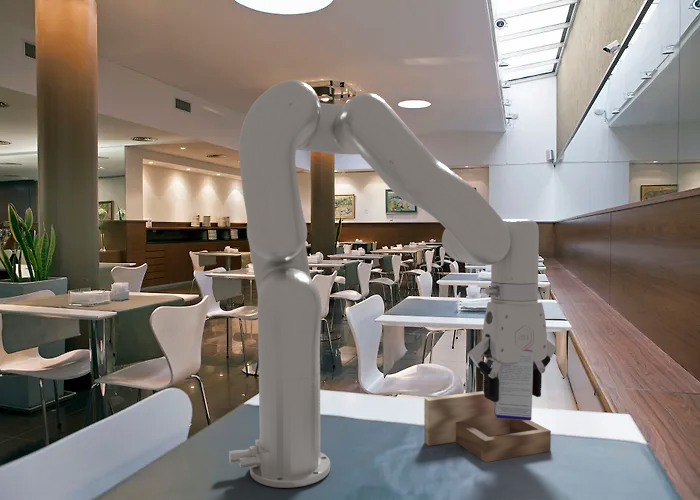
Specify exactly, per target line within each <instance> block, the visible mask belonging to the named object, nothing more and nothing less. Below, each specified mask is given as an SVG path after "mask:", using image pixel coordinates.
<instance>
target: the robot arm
mask: <svg viewBox="0 0 700 500" xmlns="http://www.w3.org/2000/svg"><path fill="white" fill-rule="evenodd" d="M238 142H239V143H238V162H239V171H240V179H241V185H242V195H243V200H244V208H245V213H246V214H245V215H246V237H247V241H248V245H249V252H250V257H251V264H252V269H253V274H254V279H255V286H256V291H257V326H258V327H257V329H258V330H257V333H258V335H257V336H258V345H257V346H258V396H259V397H258V402H259V403H258V404H259V405H258V408H259V411H258V415H259V439H255V441H254V443H255V445H250V446H249V448H247V449H234V450H229V451H228V458H229V460H228V461H229V462H228V463H229V465H233V464H238V465H239V468H240V469H242V468H248V467H249V475H250V476H251V479H252V480H254V481H255V482H257V483H259V484H261V485H264V486H268V487H272V488H280V489H281V488H285V489H286V488H288V489H289V488H298V487H300V488H301V487H305V486H309V485H312V484H315V483H318V482H319V481H321V480H323V479H324V478H326V477H327V476H328V475H329V473H330V470H331V459H330V458H329V456H327V454H325V453H323V452H321V356H320V355H321V352H320V351H321V330H322V327H321V326H322V312H323V311H322V309H323V308H322V298H321V294H320V291H319V288H318V287H317V285H316V283H315V282H314V280H313V279H312V277H311V272H310V265H309V264H310V263H309V258H308V257H309V256H308V253H307V251H308V250H307V247H306V246H307V245H306V243H307V242H306V241H307V238H308V228H307V223H306V219H305V217H304V216H305V215H304V211H303V206H302V200H301V196H300V190H299V189H300V188H299V183H298V173H297V165H296V153H297V151H305V152H313V153H314V152H315V153H316V152H318V153H323V154H325V153H326V154H336V155H359V156H360V157H361V158H363V160H364V161H365V162H366V163H367V164H368V165H369V167H370V168H371V169H373V171H374V172H375V173H376V174H377V175H378V177H380V179H381V180H382V181H383V182H384V184H386V185H387V186H388V187H387V188H389V189H390V191H392V192H393V193H394V195H396V196H398V198H400V199H402V200H404V202H406V203H409V204H411V205H413V206H415V207H418V208H419V209H420V210H423V211H425V212H426V213H428V214H429V215H431V216H432V217H433V218H434V219H435V220H436V221H437V222H438V223H440V225H442V226H443V227H444V228H445V229H444V230H443V232H442V237H441V245H442V247H443V250H444V251H445V253H446V254H447V256H449V257H450V258H451V259H453V260H454V261H457V262H460V263H466V264H475V265H480V266H491V267H490V268H491V269H490V272H491V273H490V286H487V287H486V288H485V290H484V291H485V294H486V296H490V300H488V301H487V303H486V308H485V314H484V319H483V327H482V328H483V329H482V339H481V341H480V342H478V343H477V344H476V345H475V346H474V347H473V348H472V349H471V350H470V351H468V357H470V359H471V361H472V362H473V364H474V366H475V367H476V368H477V369H478V371H480V374H482V375H483V391H484V395H485V398H487V399H489V400H491V401H493V402H498V401H499V379H498V378H497V377H496V374H497V373H498V371H499V369H500V367H501V364H515V363H518V362H520V354H521V351H529V350H532V351H533V384H532V396H534V397H537V398H540V397H542V383H543V382H542V377H543V376H542V374H545V372H546V367H547V366H548V365H549V363H550V362H551V358H552V357H553V355H554V353H555V352H556V350H557V347H556V346H555V345H554V344H553V343H552V342H550V341H549V340H548V335H547V322H546V315H545V314H546V313H545V310H544V309H545V308H544V306H543V302H542V301H541V300H538V299H539V251H540V250H539V245H540V244H539V243H540V240H539V239H540V232H539V224H538V223H537V222H536V221H535V220H533V219H525V218H521V219H520V218H516V219H515V218H509V219H506V218H504V219H503V218H501V216H500V215H499V214H498V213H497V211H496V210H495V209H494V208H493V207H492V206H491V205H490V203H489V202H488V201H487V199H485V198H484V196H483V195H481V193H480V192H478V190H476V189H475V188H474V187H473V186H472V184H471V185H470V183H468V182H467V181H466V180H464V178H462V177H460V175H458V174H456V172H454V171H453V170H451V169H450V168H449V167H448V166H446V165H445V164H443V163H442V162H440V160H438V159H437V158H436V157H435V156H434V155H433V154H432V153H431V152H430V151H429V150H428V149H427V147H426V146H425V144H423V143H422V141H421V140H420V139H419V138H418V137H417V136H416V134H415V133H414V132H413V131H412V130H411V129H410V128H409V126H408V125H406V122H404V121H403V119H401V117H400V116H399V115H398V114H397V113H396V111H395V110H394V109H393V108H392V107H391V106H390V105H389V104H388V103H387V102H386V101H385V99H383V98H382V97H380V96H379V95H377V94H375V93H371V92H370V93H369V92H366V93H365V92H363V93H360V94H357V95H355V96H353V97H352V98H350V99H349V100H348V101H346V103H344V104H335V103H334V104H333V103H326V102H325V103H324V102H320V100H319V96H318V94H317V93H316V91H315V90H314V89H313V88H312V87H311V86H310V85H309V84H307V83H305V82H303V81H301V80H299V79H288V80H287V79H286V80H283V81H280V82H278V83H276V84H274V85H272V86H271V87H269V88H268V89H266V90H265V91H264V92H263V93H262V94H261V95H259V96H258V98H256V100H255V101H254V102H253V103H252V105H251V106H250V108H249V110H248V111H247V113H246V115H245V118H244V120H243V123H242V125H241V129H240V133H239V141H238ZM482 355H483V357H484V358H485V361H484V360H483V357H482Z"/></svg>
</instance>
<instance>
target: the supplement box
mask: <svg viewBox="0 0 700 500" xmlns="http://www.w3.org/2000/svg"><path fill="white" fill-rule="evenodd" d="M496 377H497V378H498V379H499V401H498V402H494V412H495V416H496V418H499V419H514V420H530V421H532V414H533V413H532V410H533V395H532V384H533V351H532V350H529V351H521V354H520V362H518V363H515V364H501V367H500V369H499V371H498V373H497V374H496Z"/></svg>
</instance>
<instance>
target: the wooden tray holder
mask: <svg viewBox="0 0 700 500" xmlns="http://www.w3.org/2000/svg"><path fill="white" fill-rule="evenodd" d="M423 399H424V401H423V402H424V415H423V416H424V420H423V421H424V427H423V428H424V432H423V434H424V438H423V439H424V441H423V442H424V443H425V445H427V446H435V445H442V444H448V443H449V444H450V443H454V442H455V443H457V444H459V445H460V446H462V447H463V448H465V450H467V451H469V452H470V453H471V454H472V455H475V456H476V457H477V458H478V459H480V460H482V461H483V462H484V463H488V462H494V461H499V460H500V461H501V460H506V459H511V458H517V457H518V458H519V457H523V456H529V455H535V454H541V453H542V454H543V453H546V452H551V451H552V449H551V448H552V447H551V445H552V444H551V443H552V440H551V437H552V436H551V435H552V432H551V430H550V429H548V428H546V427H544V426H542V425H541V424H540V425H539V424H538V423H536V422H534V421H532V420H514V419H499V418H496V416H495V412H494V402H493V401H491V400H489V399H487V398H485V395H484V390H482V391H472V392H465V393H457V394H449V395H448V394H447V395H441V396H433V397H432V396H430V397H425V398H423Z"/></svg>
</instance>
